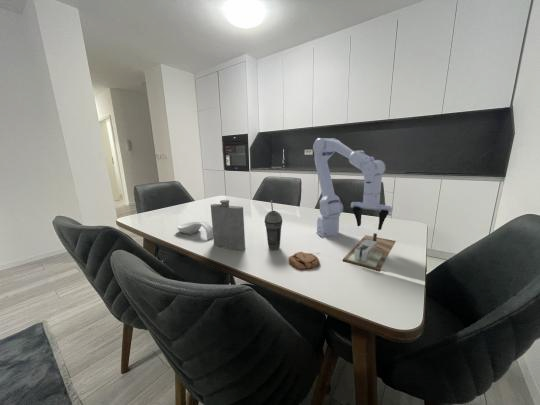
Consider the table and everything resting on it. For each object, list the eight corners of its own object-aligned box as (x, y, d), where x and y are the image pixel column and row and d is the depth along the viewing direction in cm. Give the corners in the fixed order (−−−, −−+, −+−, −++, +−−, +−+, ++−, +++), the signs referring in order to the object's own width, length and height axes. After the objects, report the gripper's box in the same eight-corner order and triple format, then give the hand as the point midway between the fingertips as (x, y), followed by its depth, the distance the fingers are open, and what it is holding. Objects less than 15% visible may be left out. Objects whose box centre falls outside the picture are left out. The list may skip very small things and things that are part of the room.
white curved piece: (173, 233, 112) (171, 219, 111) (193, 226, 122) (192, 214, 120) (202, 243, 98) (200, 227, 97) (222, 235, 108) (221, 221, 106)
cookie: (322, 269, 73) (322, 261, 73) (290, 271, 73) (290, 263, 72) (315, 256, 83) (315, 249, 82) (287, 257, 83) (287, 250, 82)
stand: (380, 271, 71) (381, 254, 69) (342, 261, 78) (343, 245, 77) (395, 243, 92) (397, 229, 91) (365, 237, 99) (366, 224, 98)
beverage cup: (270, 253, 86) (268, 203, 82) (262, 246, 92) (260, 199, 88) (286, 249, 89) (285, 200, 85) (277, 243, 96) (276, 197, 91)
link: (365, 249, 85) (365, 239, 84) (376, 251, 82) (377, 241, 81) (354, 259, 76) (355, 248, 76) (366, 263, 74) (367, 252, 73)
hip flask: (246, 248, 91) (244, 200, 87) (241, 251, 88) (238, 202, 84) (217, 241, 99) (213, 197, 95) (210, 245, 96) (206, 199, 91)
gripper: (395, 193, 82) (392, 228, 85) (355, 189, 91) (353, 221, 94) (391, 196, 76) (388, 233, 79) (349, 192, 85) (347, 226, 88)
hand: (369, 227), depth 86 cm, fingers open, 7 cm apart
